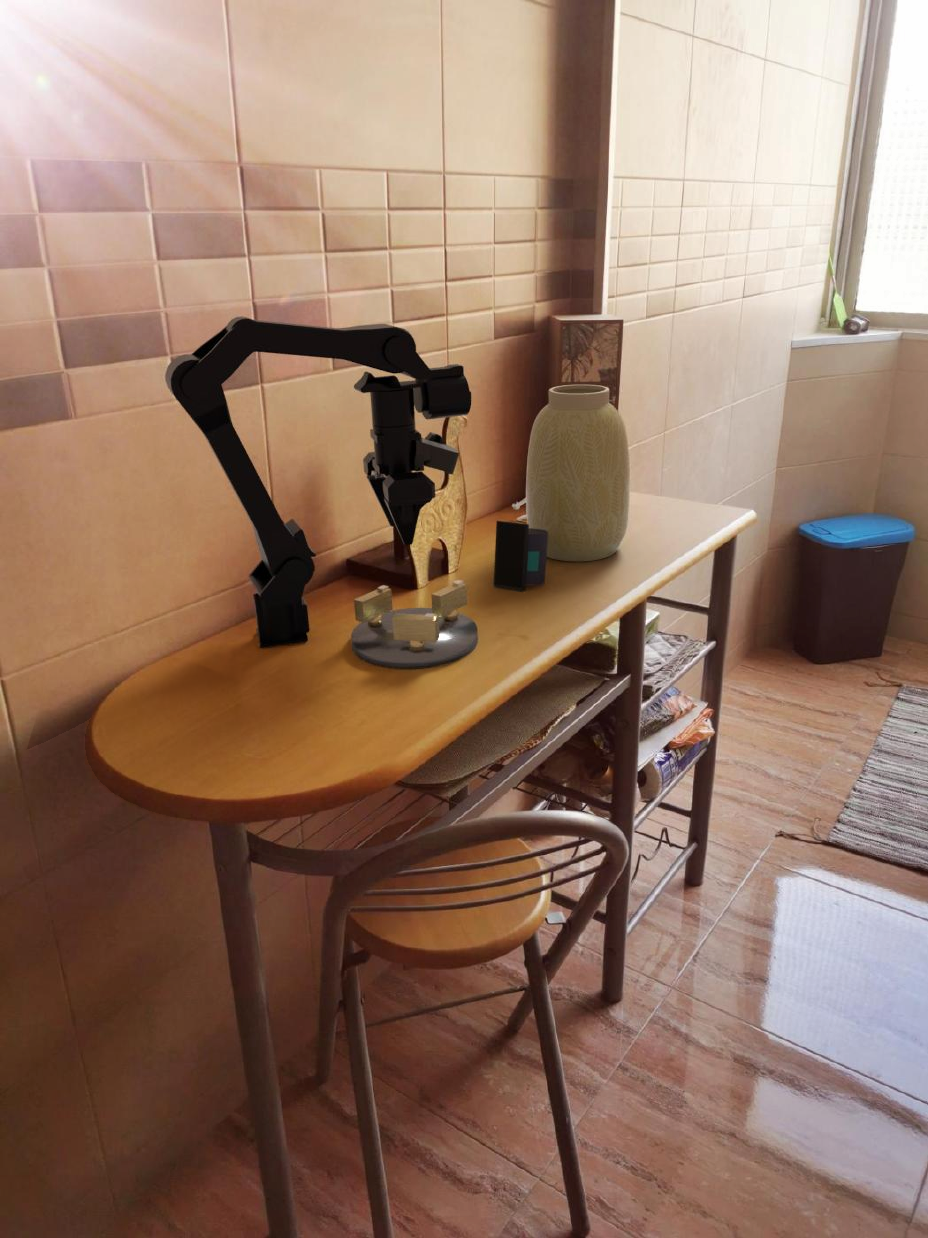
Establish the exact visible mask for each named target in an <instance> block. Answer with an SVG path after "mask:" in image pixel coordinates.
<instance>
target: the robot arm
mask: <svg viewBox="0 0 928 1238" xmlns="http://www.w3.org/2000/svg"><path fill="white" fill-rule="evenodd" d="M257 352H258V353H264V354H265V353H268V354H278V355H289V356H301V357H311V358H313V357H314V358H322V359H323V358H325V359H334V360H343V361H347V362H351V363H354V364H358V365H362V366H365V367H367V368H371V369H375V370H379V371H382V372H385V373H389V374H394V375H385V376H374V375H373V373H371V372H369V371H364V372H363V374H362V377H360V379H358V380H357V382H356V383H354V384H353V389H354V390H356V391H358V392H360V393H362V394H367V393H369V395H370V396H369V397H370V407H371V420H372V422H371V423H372V428H371V429H369V431H370V438H371V439H372V440H373V448H374V449H373V450H374V451H370V452H369V451H368V453H366V455H365V456H364V458H363V459H362V463H363V464H362V465H363V472H364V473H365V475H366V479H367V481H368V483H369V485H370V487H371V489H372V490H373V491H372V492H373V493H374V495H375V498H376V500H377V501H378V503H379V505H380V507H381V510H382V511H383V513H384V516H385V518H386V520H387V523H388V525H389V526H390V527H391V528H392V527H396V529H397V531H398V534H399V536H400V538H401V541H402V543H403V545H404V546H411V545H412V544H414V543H413V542H414V539H415V534H416V530H417V524H418V520H419V516H420V512H421V509H422V508H423V507H425V506H426V505H427V504H429V503H431V502H432V500H433V499H434V498H436V483H435V482H434V481H433V480H432V478H430V477H429V476H428V475H426V474H425V473H424V472H423V471H425V467H427V468H430V469H435V470H438V471H442V472H444V473H445V474H447V475H454V472H455V470H456V467H457V466H456V465H457V462H458V459H459V456H460V451H458V450H457V449H456V448H454V447H453V446H451V445H449V444H444V443H445V442H444V438H443V435H441V434H439V433H435V432H431V431H430V432H429V433H428V434H427V435H426V436H425V438H423V437H422V433H420V431H419V430H417V429H416V413H415V412H417V413H419V414H422V416H423V418H424V419H425V420H427V421H428V420H435V419H443V418H453V417H460V416H462V417H463V416H467V415H468V414H469V413H470V411H471V408H472V391H471V390H470V386H469V383H468V380H467V378H466V376H465V373H464V371H465V370H464V365H461V364H455V363H453V364H448V365H445V366H440V367H438V366H437V367H429V366H428V365H427V364H426V362H425V361H424V360H423V358H422V357H421V356H420V355H419V353H418V352H417V343H416V341H415V338H414V337H413V335H412V334H411V333H410V331H408V330H407V329H405V328H403V327H399V326H394V325H390V324H386V323H376V324H375V323H374V324H362V325H355V326H348V327H336V328H335V327H329V326H328V327H327V326H320V325H319V326H318V325H308V324H298V323H289V322H280V321H268V320H259V319H252V318H249V317H247V316H243V315H242V316H236V317H233V318H231V320H230V321H228V323H227V325H226V326H225V327H224V328H222V329H221V330H220V331H219V332H216V334H215V335H212V337H211V338H209V339H207V341H205V342H204V343H202V344H201V345H199V347H198V348H197V349H195V350H194V351H193V352H192V353H191V354H182V355H179V356H176V357H175V358H174V359H172V360H171V362H170V363H169V364H168V365H167V367H166V371H165V373H164V374H165V376H164V377H165V384H166V386H167V388H168V390H169V391H170V393H171V394H172V395H173V396H174V398H175V399H176V400H177V402H178V404H180V406H181V407H182V408H183V409H184V411H185V412H186V413H187V414H188V416H189V417H190V418H191V420H192V421H193V422H194V423H195V425H196V426H197V427H198V428H199V430H200V431H201V433H202V434H203V436H204V437H205V439H206V440H207V443H208V445H209V446H210V448H211V450H212V452H213V454H214V456H215V458H216V459H217V461H218V463H219V465H220V467H221V469H222V471H223V472H224V473H223V474H224V475H225V477H226V478H227V480H228V482H229V484H230V485H231V486H230V487H231V488H232V491H233V492H234V493H235V495H236V497H237V499H238V501H239V502H240V504H241V506H242V508H243V510H244V512H245V514H246V515H247V517H248V519H249V521H250V523H251V525H252V528H253V532H254V535H255V540H256V544H257V547H258V551H259V554H260V556H261V560H260V561H259V562H258V563H257V564H256V566H255V567H254V569H253V570H252V571H251V572H250V573H249V575H248V578H249V580H250V582H251V584H252V586H253V588H254V589H255V590H256V592H257V593H253V595H252V596H253V597H252V598H253V603H254V604H253V605H254V610H255V611H254V612H255V619H256V626H257V627H256V635H257V639H258V643H259V648H261V649H265V648H267V649H268V648H272V647H279V646H287V645H293V644H299V643H306V642H308V641H309V636H308V633H309V632H310V631H311V630H310V622H309V612H308V605H307V601H306V600H305V598H303V595H304V591H305V587H306V585H308V584H309V582H310V581H311V580H312V578H313V576H314V573H315V570H316V566H315V562H314V560H313V558H314V557H315V558H316V556H317V554H316V553H315V551H314V550H312V548H311V547H310V545H309V544H308V541H307V537H306V534H305V532H304V530H303V528H302V527H301V526H300V525H299V524H298V523H297V522H296V521H295V520H294V518H291V519H290V520H288V521H287V522H286V523H285V521H284V520H283V519H282V518H281V516H280V514H279V512H278V509H277V507H276V506H275V504H274V502H273V500H272V498H271V496H270V494H269V492H268V490H267V489H266V487H265V484H264V483H263V481H262V479H261V477H260V475H259V473H258V472H257V469H256V467H255V466H254V463H253V462H252V460H251V457H250V456H249V454H248V452H247V450H246V448H245V446H244V444H243V443H242V440H241V438H240V437H239V434H238V433H237V431H236V428H235V427H234V424H233V422H232V418H231V414H230V413H231V412H230V409H229V405H228V402H227V398H226V395H225V392H224V388H223V384H224V383H225V382H226V381H228V380H229V379H230V378H231V377H232V375H233V374H235V373H236V371H237V370H238V369H239V368H240V366H241V365H242V364H243V363H245V361H246V359H247V358H248V357H250V356H251V355H252V354H253V353H257ZM395 374H401V375H404V376H406V377H409V378H412V380H405V381H400V380H399V379H398V377H397V376H396V375H395ZM413 379H414V380H413ZM415 410H416V411H415ZM312 557H313V558H312Z"/></svg>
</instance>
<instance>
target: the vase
mask: <svg viewBox="0 0 928 1238" xmlns="http://www.w3.org/2000/svg"><path fill="white" fill-rule="evenodd" d="M621 415H622V414H620V412H619V410H618V409H616V407H615V406H614V405H613V404H611V403H610V388H609V387H606V386H603V385H597V384H566V385H565V384H564V385H558V386H554V387H551V388H549V389H548V403H547V404H546V405H545V406H544V407H543V408H542V409H541V410H540V411H539V413H538V414H537V415H536V416H535V417H536V418H535V419H534V422H533V424H532V428H531V431H530V435H529V443H528V449H527V451H528V452H527V457H526V458H527V460H526V461H527V462H526V475H525V476H526V477H525V478H526V480H525V481H526V482H525V497H526V502H525V510H526V512H525V513H526V514H525V515H526V516H527V518H526V524H529V528H534V529H541V530H546V531H547V532H548V543H547V557H546V558H550V559H552V560H557V561H564V562H591V561H598V560H601V559H602V560H603V559H605V558H608V557H611V556H612V555H613V554H615V553H616V552H617V550H618V549H619V547H620V545H621V543H622V541H623V540H624V538H625V535H626V533H627V529H628V525H629V517H630V516H629V514H630V501H631V494H630V493H631V476H630V475H631V474H630V473H631V471H630V468H631V466H630V451H629V441H628V435H627V430H626V425H625V422H624V420H623V417H622V416H621Z"/></svg>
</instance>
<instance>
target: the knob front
mask: <svg viewBox="0 0 928 1238" xmlns="http://www.w3.org/2000/svg"><path fill="white" fill-rule="evenodd" d="M392 620H393V635H394V639H395V640H408V641H409V650H410V651H411V652H422V651H424V650H425V642H433V643H436V642H437V640H438V639H439V621H438V616H436V614H430V613H427V614H426V615H417V614H403V613H396V614H395V615H394V616H393V618H392Z"/></svg>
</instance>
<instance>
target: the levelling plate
mask: <svg viewBox="0 0 928 1238" xmlns="http://www.w3.org/2000/svg"><path fill="white" fill-rule="evenodd" d="M396 613H403V614H417V615H426V614H427V613H430V614H432V607H410V608H409V607H408V608H400V609H393V610H391V611H389V612H387V613H384V614H382V624H383V625H382V626H381V627H378V628H371V627H368V621H367V622H365V623H363V622H360V623H358V624H357V625H356V626H355V627H354V628H353V629H352V632H351V634H350V635H351V636H350V640H351V649H352V652H353V651H354V652H353V654H354V653H355V654H354V655H355V656H356V657H357V658H358V659H360V660H361V661H363V660H364V661H363V662H365V663H367V664H370V665H374V666H376V665H377V667H380V666H381V668H385V669H392V668H393V670H394V669H395V670H420V669H429V668H437V667H439V666H440V667H441V666H443V665H448V664H451V663H454V662H456V661H459V660H460V658H461V659H462V658H465V657H466V656H468V655H469V654H470V653H472V652H473V651H474V650H475V649H476V647H477V644H478V643H479V635H478V634H479V633H478V632H479V631H478V626H477V624H476V622H475V621H474V620H473V619H471V618H470V617H469V616H467V615H465V614H463V613H460V612H457V616H458V620H457V621H455V622H445V621H443V617H439V616H438V621H439V639H438V640H437V642H436V643H433V642H425V650H424V651H422V652H411V651H410V650H409V641H408V640H395V639H394V635H393V620H392V618H393V616H394V615H395V614H396ZM386 667H387V668H386Z"/></svg>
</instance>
